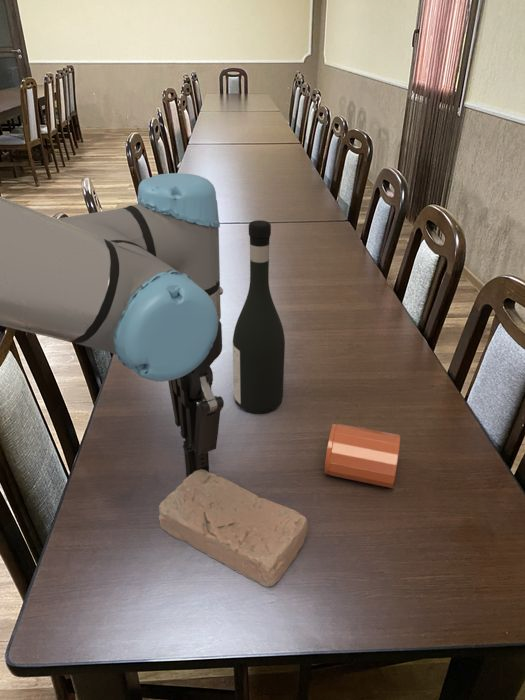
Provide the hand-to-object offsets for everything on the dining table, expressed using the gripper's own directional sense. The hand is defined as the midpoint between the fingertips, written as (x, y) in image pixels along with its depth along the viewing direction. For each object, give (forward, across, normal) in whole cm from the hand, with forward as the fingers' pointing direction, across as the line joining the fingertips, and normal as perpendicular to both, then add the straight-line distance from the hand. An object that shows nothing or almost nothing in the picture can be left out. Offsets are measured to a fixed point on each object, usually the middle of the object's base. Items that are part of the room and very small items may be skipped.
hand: (198, 478), depth 71 cm
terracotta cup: (-2, -5, -17) cm, 18 cm away
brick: (+2, -10, 0) cm, 10 cm away
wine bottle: (+2, +13, -16) cm, 21 cm away
